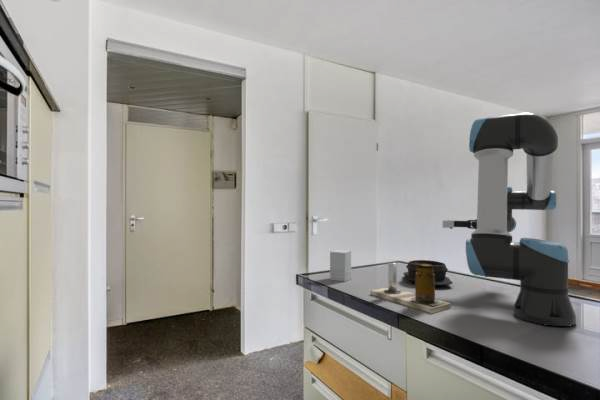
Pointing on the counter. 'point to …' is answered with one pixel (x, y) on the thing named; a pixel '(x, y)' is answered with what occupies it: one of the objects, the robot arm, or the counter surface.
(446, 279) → the casserole
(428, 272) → the condiment
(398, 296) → the board
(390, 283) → the steel post
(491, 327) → the counter surface
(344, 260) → the supplement box
